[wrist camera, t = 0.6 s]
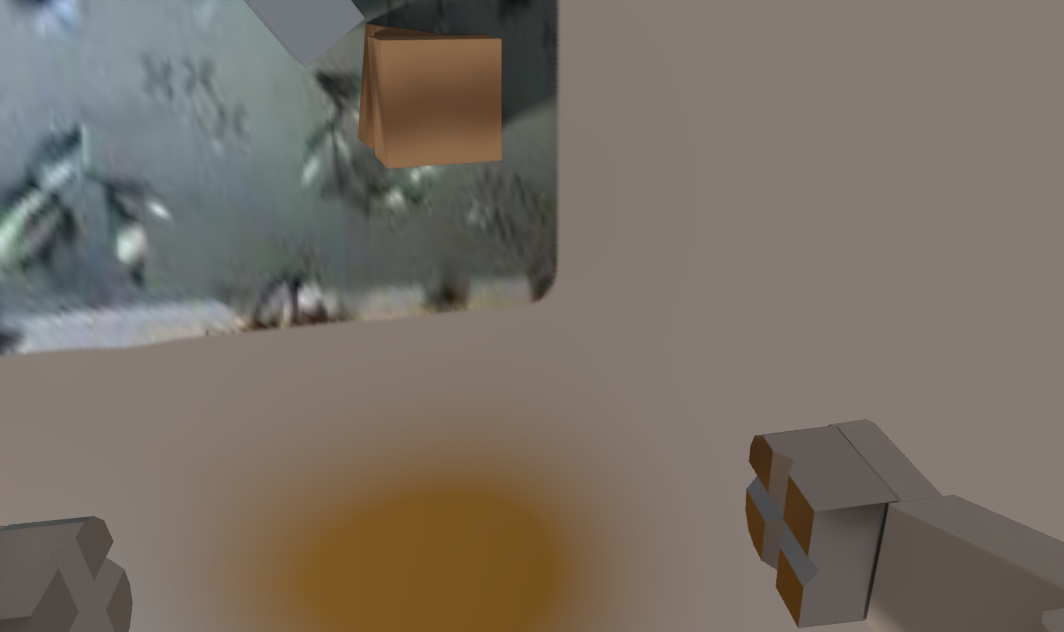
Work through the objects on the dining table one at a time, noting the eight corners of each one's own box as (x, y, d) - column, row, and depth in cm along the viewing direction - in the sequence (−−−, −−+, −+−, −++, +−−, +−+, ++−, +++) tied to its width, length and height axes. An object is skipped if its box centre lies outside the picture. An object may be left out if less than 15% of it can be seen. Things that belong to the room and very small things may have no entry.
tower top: (367, 35, 45) (380, 40, 42) (482, 34, 48) (501, 38, 45) (375, 156, 48) (387, 168, 45) (483, 149, 51) (501, 160, 48)
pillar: (239, -5, 45) (249, 0, 38) (293, -49, 45) (311, -52, 38) (288, 53, 47) (305, 68, 40) (339, 11, 47) (365, 18, 41)
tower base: (364, 22, 48) (376, 26, 45) (472, 38, 51) (489, 42, 48) (357, 136, 51) (367, 146, 48) (459, 145, 54) (475, 155, 51)
